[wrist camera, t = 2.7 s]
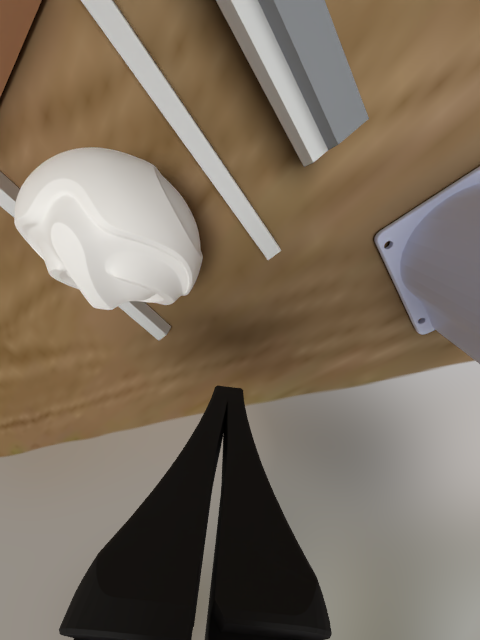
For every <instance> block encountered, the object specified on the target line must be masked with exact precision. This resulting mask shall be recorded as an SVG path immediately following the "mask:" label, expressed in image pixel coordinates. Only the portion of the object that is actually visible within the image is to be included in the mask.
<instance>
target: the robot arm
mask: <svg viewBox="0 0 480 640" xmlns="http://www.w3.org/2000/svg"><path fill="white" fill-rule="evenodd" d="M374 240H375V244H376V246H377V248H378V250H379V252H380V254H381V257H382V259H383V261H384V263H385V265H386V267H387V270H388V272H389V274H390V276H391V278H392V280H393V283H394V285H395V287H396V289H397V291H398V293H399V295H400V298H401V300H402V302H403V304H404V306H405V308H406V311H407V313H408V315H409V317H410V319H411V321H412V324H413V326H414V328H415V330H416V331H417V332H418V333H419V334H421V335H423V334H427V333H430V332H432V331H434V330H436V331H438V332H439V333H440V334H441V335H443V336H444V337H445V338H447V339H448V340H449V341H451V342H452V343H453V344H455V345H456V346H457V347H458V348H460V349H461V350H462V351H464V352H465V353H466V354H468V355H469V356H470V357H472V358H473V359H474V360H475V361H477V362H478V363H479V364H480V166H479V167H478V168H476V169H475V170H473V171H472V172H470V173H469V174H467V175H465V176H464V177H462V178H461V179H459V180H458V181H456V182H455V183H453V184H452V185H450V186H448V187H447V188H445V189H444V190H442V191H441V192H439V193H438V194H436V195H435V196H433V197H432V198H430V199H428V200H427V201H425V202H424V203H422V204H421V205H419V206H418V207H416V208H415V209H413V210H411V211H410V212H408V213H407V214H405V215H404V216H402V217H401V218H399V219H398V220H396V221H394V222H393V223H391V224H390V225H388V226H387V227H385V228H384V229H382V230H381V231H379V232H378V233H377V234H376V236H375V239H374ZM387 241H390V244H389V246H388V247H386V248H384V245H385V243H386V242H387ZM420 318H422V319H421V320H419V319H420ZM418 320H419V321H418ZM223 433H224V435H223ZM222 438H223V462H222V486H221V498H220V507H219V517H218V525H217V535H216V545H215V553H214V562H213V572H212V580H211V589H210V598H209V606H208V615H207V624H206V634H205V640H325V639H329V638H330V636H331V628H330V621H329V617H328V613H327V609H326V605H325V601H324V598H323V595H322V592H321V589H320V586H319V583H318V580H317V577H316V575H315V573H314V572H313V570H312V568H311V566H310V564H309V562H308V561H307V559H306V557H305V555H304V553H303V551H302V549H301V548H300V546H299V544H298V542H297V540H296V538H295V536H294V534H293V532H292V530H291V528H290V526H289V524H288V523H287V520H286V518H285V516H284V514H283V512H282V510H281V508H280V505H279V503H278V501H277V499H276V497H275V495H274V493H273V490H272V488H271V486H270V483H269V481H268V478H267V476H266V474H265V471H264V469H263V466H262V464H261V461H260V458H259V455H258V452H257V449H256V446H255V443H254V440H253V437H252V433H251V430H250V426H249V422H248V419H247V414H246V410H245V404H244V398H243V390H242V389H241V388H232V387H224V386H216V387H215V389H214V392H213V395H212V398H211V400H210V402H209V404H208V407H207V409H206V411H205V413H204V415H203V416H202V418H201V421H200V422H199V424H198V426H197V427H196V429H195V431H194V432H193V434H192V436H191V437H190V439H189V441H188V442H187V444H186V445H185V447H184V448H183V450H182V451H181V453H180V454H179V456H178V457H177V459H176V460H175V462H174V463H173V464H172V466H171V467H170V469H169V470H168V471H167V473H166V474H165V475H164V477H163V478H162V479H161V481H160V482H159V483H158V485H157V486H156V487H155V488H154V490H153V491H152V492H151V493H150V495H149V496H148V497H147V498H146V499H145V501H144V502H143V503H142V504H141V505H140V507H139V508H138V509H137V510H136V511H135V513H134V514H133V515H132V516H131V518H130V519H129V520H128V521H127V522H126V523H125V524H124V525H123V527H122V528H121V529H120V530H119V531H118V532H117V533H116V534H115V535H114V537H113V538H112V539H111V540H110V541H109V542H108V543H107V544H106V545H105V547H104V548H103V549H102V550H101V551H100V552H99V553H98V555H97V557H96V558H95V560H94V561H93V563H92V564H91V566H90V567H89V569H88V571H87V573H86V574H85V576H84V577H83V579H82V581H81V583H80V585H79V587H78V589H77V590H76V592H75V594H74V597H73V599H72V601H71V603H70V606H69V608H68V610H67V613H66V615H65V617H64V619H63V621H62V624H61V626H60V629H59V631H60V634H61V635H64V636H68V637H73V638H74V640H191V637H192V630H193V627H194V621H195V613H196V605H197V598H198V591H199V583H200V575H201V568H202V561H203V552H204V545H205V538H206V530H207V523H208V516H209V508H210V501H211V493H212V487H213V482H214V477H215V472H216V467H217V462H218V457H219V453H220V448H221V443H222Z"/></svg>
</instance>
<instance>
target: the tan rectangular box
mask: <svg viewBox="0 0 480 640" xmlns="http://www.w3.org/2000/svg"><path fill="white" fill-rule="evenodd" d="M41 1H42V0H0V97H1V94H2V92H3V90H4V87H5V85H6V83H7V80H8V78H9V76H10V73H11V71H12V69H13V66H14V64H15V62H16V59H17V57H18V55H19V52H20V50H21V48H22V45H23V43H24V41H25V38H26V36H27V33H28V31H29V29H30V26H31V24H32V22H33V19H34V17H35V15H36V12H37V10H38V8H39V5H40V3H41Z"/></svg>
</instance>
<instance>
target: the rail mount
mask: <svg viewBox="0 0 480 640" xmlns="http://www.w3.org/2000/svg"><path fill="white" fill-rule="evenodd" d="M81 1H82V3H83V4H84V5H85V7H86V8H87V9H88V11H89V12H90V14H91V15H92V16H93V18H94V19H95V21H96V22H97V23H98V25H99V26H100V28H101V29H102V30H103V32H104V33H105V34H106V36H107V37H108V39H109V40H110V41H111V43H112V44H113V46H114V47H115V48H116V50H117V51H118V53H119V54H120V55H121V57H122V58H123V59H124V61H125V62H126V64H127V65H128V66H129V68H130V69H131V71H132V72H133V73H134V75H135V76H136V78H137V79H138V80H139V82H140V83H141V84H142V86H143V87H144V89H145V90H146V91H147V93H148V94H149V96H150V97H151V98H152V100H153V101H154V103H155V104H156V105H157V107H158V108H159V109H160V111H161V112H162V114H163V115H164V116H165V118H166V119H167V121H168V122H169V123H170V125H171V126H172V128H173V129H174V130H175V132H176V133H177V134H178V136H179V137H180V139H181V140H182V141H183V143H184V144H185V146H186V147H187V148H188V150H189V151H190V153H191V154H192V155H193V157H194V158H195V159H196V161H197V162H198V164H199V165H200V166H201V168H202V169H203V171H204V172H205V173H206V175H207V176H208V178H209V179H210V180H211V182H212V183H213V184H214V186H215V187H216V189H217V190H218V191H219V193H220V194H221V196H222V197H223V198H224V200H225V201H226V203H227V204H228V205H229V207H230V208H231V209H232V211H233V212H234V214H235V215H236V216H237V218H238V219H239V221H240V222H241V223H242V225H243V226H244V228H245V229H246V230H247V232H248V233H249V234H250V236H251V237H252V239H253V240H254V241H255V243H256V244H257V246H258V247H259V248H260V250H261V251H262V253H263V254H264V255H265V257H266V258H267V259H268V260H269V259H270V258H272V257H273V256H275V255H276V254H277V253H279V252H280V251H281V249H280V247H279V245H278V244H277V242H276V241H275V239H274V238H273V236H272V235H271V233H270V232H269V230H268V229H267V227H266V226H265V224H264V223H263V222H262V220H261V219H260V217H259V216H258V214H257V213H256V211H255V210H254V208H253V207H252V205H251V204H250V202H249V201H248V199H247V198H246V196H245V195H244V193H243V192H242V190H241V189H240V187H239V186H238V184H237V183H236V181H235V180H234V178H233V177H232V176H231V174H230V173H229V171H228V170H227V168H226V167H225V165H224V164H223V162H222V161H221V159H220V158H219V156H218V155H217V153H216V152H215V150H214V149H213V147H212V146H211V144H210V143H209V141H208V140H207V138H206V137H205V135H204V134H203V133H202V131H201V130H200V128H199V127H198V125H197V124H196V122H195V121H194V119H193V118H192V116H191V115H190V113H189V112H188V110H187V109H186V107H185V106H184V104H183V103H182V101H181V100H180V98H179V97H178V95H177V94H176V92H175V91H174V90H173V88H172V87H171V85H170V84H169V82H168V81H167V79H166V78H165V76H164V75H163V73H162V72H161V70H160V69H159V67H158V66H157V64H156V63H155V61H154V60H153V58H152V57H151V55H150V54H149V52H148V51H147V49H146V48H145V46H144V45H143V44H142V42H141V41H140V39H139V38H138V36H137V35H136V33H135V32H134V30H133V29H132V27H131V26H130V24H129V23H128V21H127V20H126V18H125V17H124V15H123V14H122V12H121V11H120V9H119V8H118V6H117V5H116V3H115V2H114V1H113V0H81ZM216 2H217V4H218V6H219V7H220V9H221V11H222V13H223V15H224V17H225V19H226V21H227V23H228V24H229V26H230V28H231V30H232V32H233V34H234V36H235V38H236V40H237V41H238V43H239V45H240V47H241V49H242V51H243V53H244V55H245V57H246V58H247V60H248V62H249V64H250V66H251V68H252V70H253V72H254V74H255V75H256V77H257V79H258V81H259V83H260V85H261V87H262V89H263V91H264V92H265V94H266V96H267V98H268V100H269V102H270V104H271V106H272V108H273V109H274V111H275V113H276V115H277V117H278V119H279V121H280V123H281V125H282V126H283V128H284V130H285V132H286V134H287V136H288V138H289V140H290V142H291V143H292V145H293V147H294V149H295V151H296V153H297V155H298V157H299V159H300V160H301V162H302V164H303V166H304V167H305V166H307V165H309V164H311V163H314V162H315V161H316V160H317V159H318V158H319V157H321V156H322V155H323V154H324V153H325V152H326V151H328V150H329V149H331V148H333V147H335V146H336V145H338V144H339V143H341V142H342V141H343V140H344V139H345V138H346V137H348V136H349V135H350V134H351V133H352V132H354V131H355V130H356V129H357V128H358V127H359V126H361V125H362V124H363V123H364V122H365V121H366V120H368V119H369V118H368V115H367V112H366V110H365V107H364V104H363V102H362V99H361V96H360V94H359V91H358V88H357V86H356V83H355V80H354V78H353V75H352V72H351V70H350V67H349V64H348V62H347V59H346V56H345V54H344V51H343V48H342V46H341V43H340V41H339V38H338V35H337V33H336V30H335V27H334V25H333V22H332V19H331V17H330V14H329V11H328V9H327V6H326V3H325V1H324V0H216ZM19 191H20V189H19V188H18V187H17V186H16V185H15V184H14V183H13V182H12V181H11V180H9V179H8V178H7V177H6V176H5V175H4V174H3V173H2V172H1V171H0V206H1V207H2V208H3V209H5V210H6V211H7V212H8V213H9V214H10V215H12V216H13V217H14V218H15V203H16V199H17V196H18V193H19ZM119 307H120V308H121V309H122V310H123V311H124V312H126V313H127V314H128V315H129V316H130V317H131V318H133V319H134V320H135V321H136V322H137V323H139V324H140V325H141V326H142V327H143V328H144V329H146V330H147V331H148V332H149V333H150V334H151V335H153V336H154V337H155V338H156V339H157V340H160V339H162V338H163V337H164V336H166V335H167V333H168V332H169V330H170V328H171V326H170V325H169V324H168V323H167V322H166V321H164V320H163V319H162V318H161V317H160V316H159V315H158V314H157V313H156V312H155V311H153V310H152V309H151V308H150V307H149V306H148V305H147V304H146V303H145V302H140V301H128V302H124V303H122V304H121V305H119Z"/></svg>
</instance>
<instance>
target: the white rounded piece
mask: <svg viewBox="0 0 480 640" xmlns="http://www.w3.org/2000/svg"><path fill="white" fill-rule="evenodd" d="M15 226H16V228H17V230H18V231H19V232H20V234H21V235H22V236H23V238H24V239H25V240H26V241H27V242H28V243H29V245H30V246H31V247H32V248H33V249H34V250H35V251H36V252H37V254H38V255H39V256H40V257H41V258H42V259H43V260H44V261H45V263H46V267H47V270H48V272H49V274H50V276H52V277H53V278H54V279H56V280H58V281H60V282H62V283H64V284H66V285H69V286H71V287H74V288H77V289H80V291H81V292H82V294H83V295H84V297H85V298H86V299H87V301H88V302H89V303H90V304H91V305H92V307H94V308H98V309H106V310H113V309H114V308H116V307H117V306H119V305H121V304H122V303H124V302H128V301H140V302H150V303H159V304H163V305H169V304H172V303H174V302H175V301H176V300H177V299H178V298H179V297H180V296H183V295H184V296H185V295H188V294H189V292H190V291H191V289H192V288H193V286H194V284H195V282H196V279H197V277H198V274H199V271H200V267H201V263H202V259H203V255H202V252H201V249H200V238H199V232H198V228H197V225H196V222H195V219H194V217H193V215H192V213H191V211H190V209H189V207H188V205H187V204H186V202H185V200H184V199H183V197H182V196H181V195H180V193H179V192H178V191H177V190H176V189H175V188H174V187H173V186H172V185H171V183H170V182H169V181H167V180H166V179H165V178H164V177H163V176H162V175H161V173H160V172H159V170H158V169H157V168H156V167H155V166H154V165H153V164H151V163H149V162H147V161H145V160H142V159H140V158H138V157H135V156H132V155H129V154H127V153H123V152H120V151H116V150H112V149H106V148H96V147H88V148H78V149H73V150H69V151H65V152H62V153H60V154H57V155H55V156H53V157H51V158H49V159H48V160H46V161H45V162H43V163H42V164H41V165H39V166H38V167H37V168H36V169H35V170H34V171H33V172H32V173H31V174H30V175H29V177H28V178H27V179H26V180H25V182H24V183H23V185H22V187H21V189H20V191H19V193H18V196H17V199H16V203H15Z"/></svg>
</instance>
